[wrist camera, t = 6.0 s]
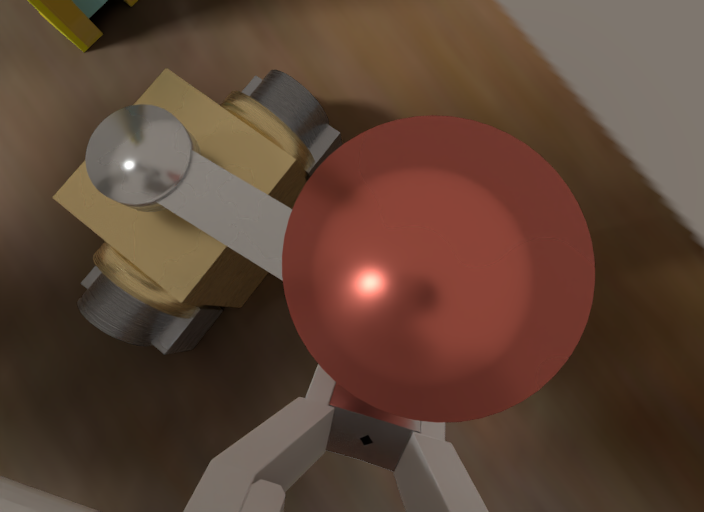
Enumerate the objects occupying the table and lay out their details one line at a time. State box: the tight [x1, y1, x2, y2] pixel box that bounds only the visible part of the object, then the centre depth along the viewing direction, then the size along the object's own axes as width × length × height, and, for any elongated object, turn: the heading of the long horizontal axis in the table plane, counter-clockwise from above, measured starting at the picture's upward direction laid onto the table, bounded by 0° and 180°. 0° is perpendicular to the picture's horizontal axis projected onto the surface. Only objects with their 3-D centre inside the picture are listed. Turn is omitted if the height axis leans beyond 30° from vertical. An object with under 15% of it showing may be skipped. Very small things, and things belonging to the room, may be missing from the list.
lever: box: [85, 104, 595, 423], centre depth 9 cm, size 14×4×11 cm, turn 59°
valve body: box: [52, 68, 342, 355], centre depth 20 cm, size 16×8×9 cm, turn 143°
